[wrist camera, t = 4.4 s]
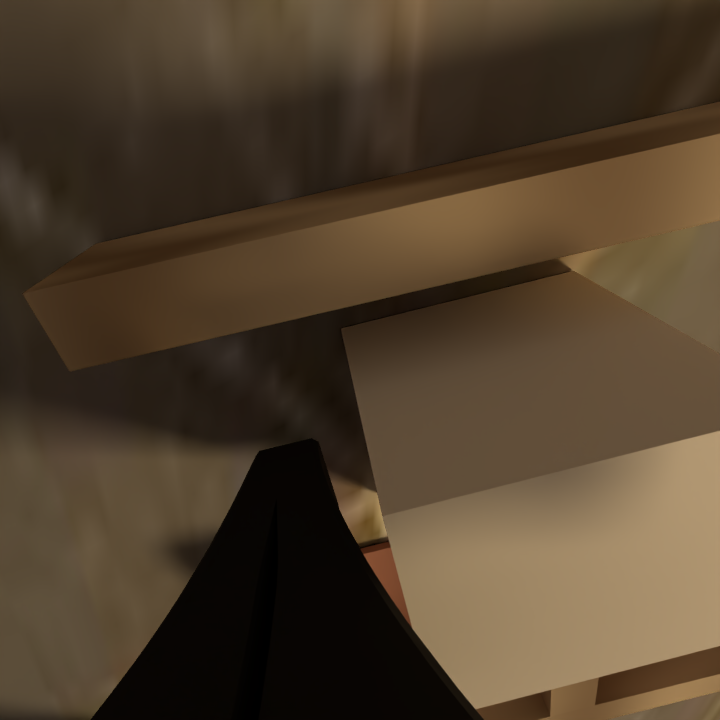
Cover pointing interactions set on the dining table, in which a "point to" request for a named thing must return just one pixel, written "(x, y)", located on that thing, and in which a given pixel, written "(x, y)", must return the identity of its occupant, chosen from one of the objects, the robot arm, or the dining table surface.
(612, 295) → the ivory block
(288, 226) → the trap lane
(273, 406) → the dining table surface
